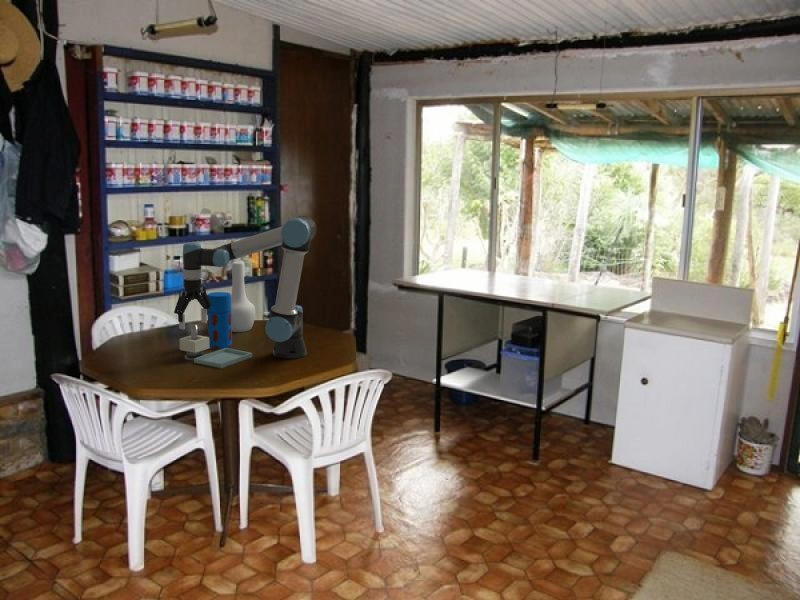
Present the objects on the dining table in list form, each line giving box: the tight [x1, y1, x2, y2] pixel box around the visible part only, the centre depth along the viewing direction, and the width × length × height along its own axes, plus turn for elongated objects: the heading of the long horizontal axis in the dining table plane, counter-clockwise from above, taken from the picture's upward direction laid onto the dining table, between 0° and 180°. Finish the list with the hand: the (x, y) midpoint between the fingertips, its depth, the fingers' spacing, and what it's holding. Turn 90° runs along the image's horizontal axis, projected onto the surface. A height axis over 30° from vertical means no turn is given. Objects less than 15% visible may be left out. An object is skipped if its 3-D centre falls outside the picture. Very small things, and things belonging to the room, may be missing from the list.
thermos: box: [207, 291, 233, 350], centre depth 334 cm, size 11×11×25 cm
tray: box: [193, 347, 253, 369], centre depth 314 cm, size 15×20×2 cm
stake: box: [184, 323, 205, 362], centre depth 315 cm, size 9×9×15 cm
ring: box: [179, 335, 211, 353], centre depth 316 cm, size 11×9×5 cm
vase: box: [230, 261, 256, 333], centre depth 364 cm, size 17×17×35 cm
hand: (193, 325), depth 314 cm, fingers open, 13 cm apart
